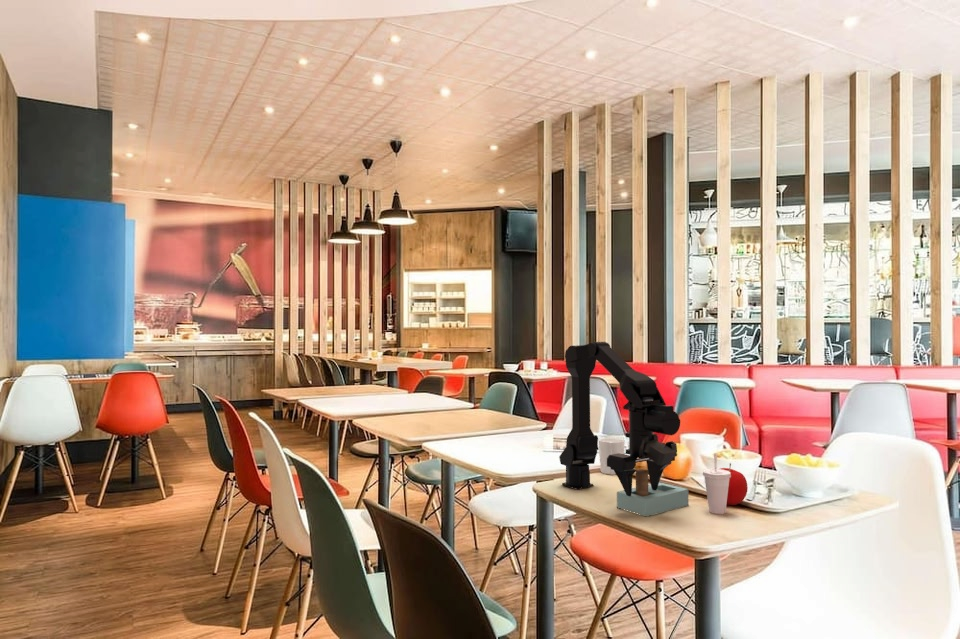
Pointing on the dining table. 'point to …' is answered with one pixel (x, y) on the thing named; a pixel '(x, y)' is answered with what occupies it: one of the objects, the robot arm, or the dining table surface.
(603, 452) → the white cup
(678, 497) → the hole block
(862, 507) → the dining table surface
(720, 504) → the smoothie
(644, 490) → the peg
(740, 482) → the fruit
